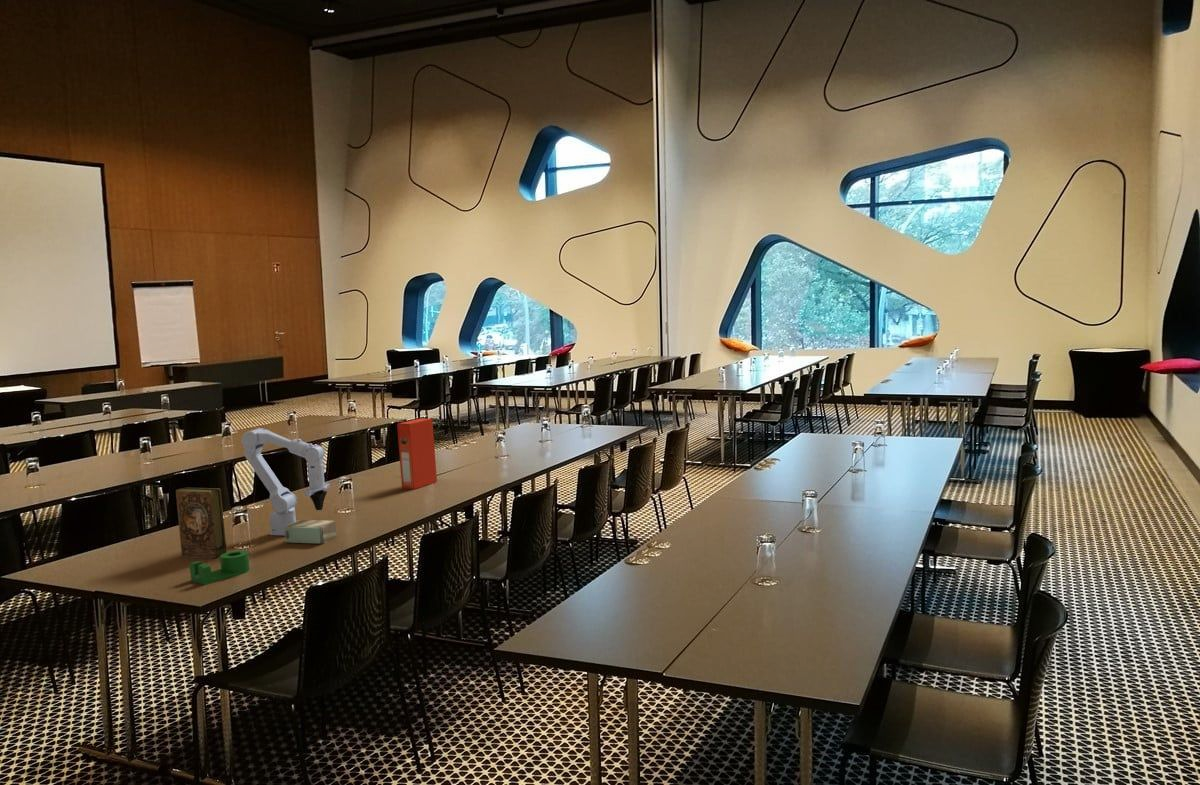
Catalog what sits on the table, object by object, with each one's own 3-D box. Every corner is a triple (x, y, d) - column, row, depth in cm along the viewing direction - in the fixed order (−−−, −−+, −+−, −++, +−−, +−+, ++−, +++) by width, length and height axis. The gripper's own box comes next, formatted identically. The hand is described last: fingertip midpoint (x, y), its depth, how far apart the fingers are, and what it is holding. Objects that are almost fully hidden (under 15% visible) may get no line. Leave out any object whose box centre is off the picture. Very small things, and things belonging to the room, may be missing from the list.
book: (179, 557, 328) (172, 490, 325) (190, 552, 333) (183, 487, 330) (216, 558, 323) (210, 491, 320) (227, 554, 328) (220, 488, 325)
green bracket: (241, 566, 313) (239, 548, 312) (254, 570, 307) (253, 552, 307) (191, 580, 299) (189, 562, 298) (204, 585, 293) (202, 566, 293)
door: (284, 542, 339) (282, 527, 339) (287, 541, 341) (286, 526, 341) (320, 544, 335) (318, 528, 334) (323, 542, 337) (321, 527, 336)
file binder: (401, 488, 430) (397, 423, 426) (424, 481, 445) (420, 418, 442) (414, 489, 426) (410, 424, 423) (436, 482, 442) (432, 418, 438)
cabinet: (287, 542, 342) (285, 525, 341) (300, 535, 350) (299, 519, 349) (323, 543, 337) (322, 526, 337) (336, 537, 346) (335, 520, 345)
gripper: (315, 480, 343) (317, 514, 344) (335, 472, 357) (337, 505, 358) (299, 480, 345) (301, 514, 346) (319, 472, 359) (322, 505, 360)
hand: (319, 509), depth 352 cm, fingers closed
